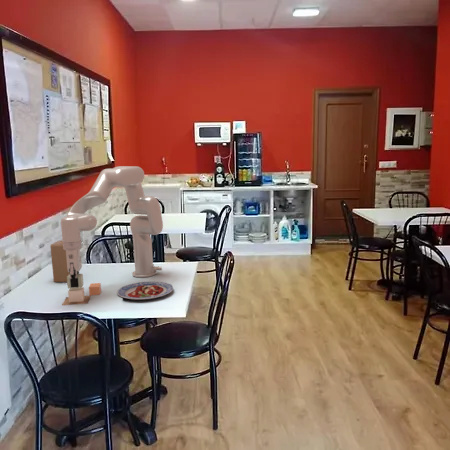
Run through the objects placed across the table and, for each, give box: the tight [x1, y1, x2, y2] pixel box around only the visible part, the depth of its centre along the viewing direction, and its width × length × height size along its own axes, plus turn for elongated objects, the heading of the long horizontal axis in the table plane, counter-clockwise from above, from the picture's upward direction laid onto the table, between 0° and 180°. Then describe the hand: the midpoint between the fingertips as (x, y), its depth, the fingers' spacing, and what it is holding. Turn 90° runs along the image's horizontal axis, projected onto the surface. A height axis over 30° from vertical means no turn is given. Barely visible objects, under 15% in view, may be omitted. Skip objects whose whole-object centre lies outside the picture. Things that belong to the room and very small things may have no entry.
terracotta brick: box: [88, 282, 102, 296], centre depth 222 cm, size 6×4×5 cm
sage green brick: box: [66, 273, 84, 289], centre depth 211 cm, size 6×4×5 cm
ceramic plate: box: [116, 280, 174, 301], centre depth 222 cm, size 26×26×3 cm
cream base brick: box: [67, 286, 85, 302], centre depth 212 cm, size 6×4×5 cm
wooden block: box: [50, 240, 70, 283], centre depth 247 cm, size 10×10×20 cm
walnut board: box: [62, 294, 92, 306], centre depth 212 cm, size 11×11×1 cm
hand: (75, 285), depth 211 cm, fingers closed on sage green brick, 4 cm apart
